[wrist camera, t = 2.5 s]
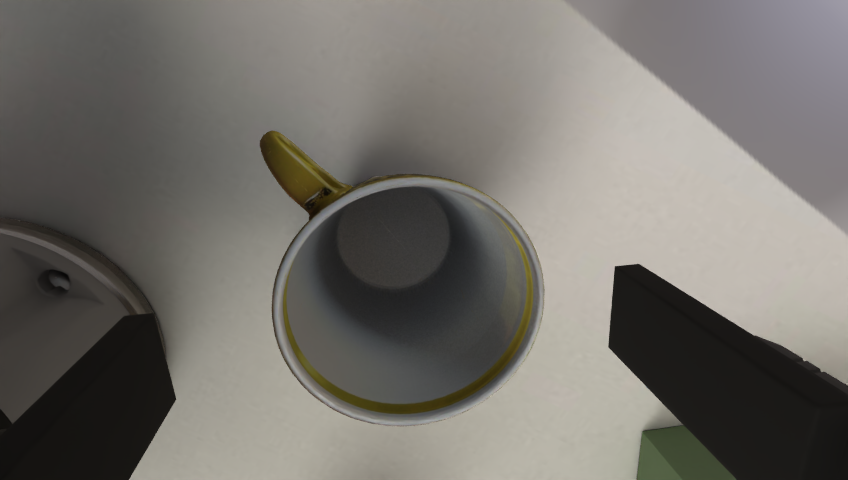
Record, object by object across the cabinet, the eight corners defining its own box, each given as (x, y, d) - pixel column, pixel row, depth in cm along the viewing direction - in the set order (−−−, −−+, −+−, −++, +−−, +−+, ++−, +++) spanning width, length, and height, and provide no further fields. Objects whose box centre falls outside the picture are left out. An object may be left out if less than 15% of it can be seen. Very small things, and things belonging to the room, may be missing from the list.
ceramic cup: (512, 241, 28) (593, 320, 18) (382, 344, 29) (395, 470, 19) (368, 55, 24) (376, 32, 14) (220, 182, 24) (135, 241, 15)
